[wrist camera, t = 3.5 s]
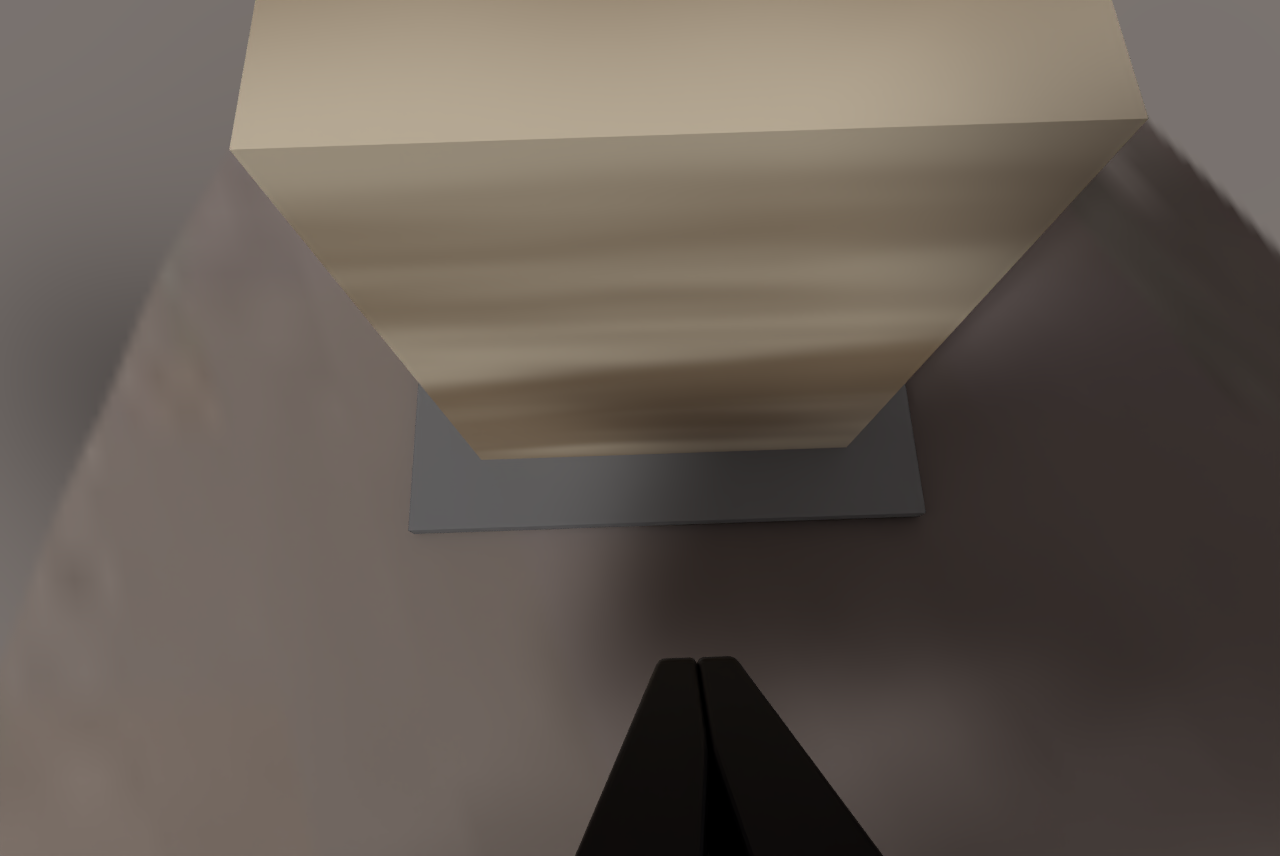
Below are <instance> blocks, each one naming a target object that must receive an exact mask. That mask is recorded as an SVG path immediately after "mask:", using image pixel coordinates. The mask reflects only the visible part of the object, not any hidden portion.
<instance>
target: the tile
mask: <svg viewBox="0 0 1280 856" xmlns="http://www.w3.org/2000/svg"><path fill="white" fill-rule="evenodd" d="M1147 120H1148V115H1147V112H1146V109H1145V106H1144V103H1143V100H1142V96H1141V93H1140V90H1139V86H1138V83H1137V80H1136V77H1135V74H1134V70H1133V67H1132V64H1131V61H1130V58H1129V54H1128V51H1127V48H1126V45H1125V42H1124V38H1123V35H1122V32H1121V29H1120V25H1119V22H1118V19H1117V16H1116V12H1115V9H1114V6H1113V3H1112V0H256V1H255V6H254V13H253V18H252V24H251V29H250V35H249V41H248V47H247V52H246V58H245V64H244V69H243V75H242V81H241V87H240V93H239V99H238V104H237V110H236V115H235V121H234V127H233V132H232V138H231V144H230V149H229V150H230V151H231V152H232V153H233V155H234V156H235V157H236V158H237V160H238V161H239V162H240V163H241V164H242V166H243V167H244V168H245V169H246V171H247V172H248V173H249V174H250V176H251V177H252V178H253V179H254V180H255V182H256V183H257V184H258V185H259V187H260V188H261V189H262V190H263V192H264V193H265V194H266V195H267V196H268V198H269V199H270V200H271V201H272V203H273V204H274V205H275V206H276V208H277V209H278V210H279V211H280V213H281V214H282V215H283V216H284V217H285V219H286V220H287V221H288V222H289V224H290V225H291V226H292V227H293V229H294V230H295V231H296V232H297V233H298V235H299V236H300V237H301V238H302V240H303V241H304V242H305V243H306V245H307V246H308V247H309V248H310V249H311V251H312V252H313V253H314V254H315V256H316V257H317V258H318V259H319V261H320V262H321V263H322V264H323V265H324V267H325V268H326V269H327V270H328V272H329V273H330V274H331V275H332V277H333V278H334V279H335V280H336V281H337V283H338V284H339V285H340V286H341V288H342V289H343V290H344V291H345V293H346V294H347V295H348V296H349V297H350V299H351V300H352V301H353V302H354V304H355V305H356V306H357V307H358V309H359V310H360V311H361V312H362V313H363V315H364V316H365V317H366V318H367V320H368V321H369V322H370V323H371V325H372V326H373V327H374V328H375V330H376V331H377V332H378V333H379V334H380V336H381V337H382V338H383V339H384V341H385V342H386V343H387V344H388V346H389V347H390V348H391V349H392V350H393V352H394V353H395V354H396V355H397V357H398V358H399V359H400V360H401V362H402V363H403V364H404V365H405V366H406V368H407V369H408V370H409V371H410V373H411V374H412V375H413V376H414V378H415V379H416V380H417V381H418V382H419V384H420V385H421V386H422V387H423V389H424V390H425V391H426V392H427V394H428V395H429V396H430V397H431V398H432V400H433V401H434V402H435V403H436V405H437V406H438V407H439V408H440V410H441V411H442V412H443V413H444V414H445V416H446V417H447V418H448V419H449V421H450V422H451V423H452V424H453V426H454V427H455V428H456V429H457V430H458V432H459V433H460V434H461V435H462V437H463V438H464V439H465V440H466V442H467V443H468V444H469V445H470V447H471V448H472V449H473V450H474V451H475V453H476V454H477V455H478V456H479V458H480V459H481V460H492V459H522V458H551V457H580V456H609V455H638V454H667V453H696V452H725V451H754V450H783V449H812V448H841V447H847V446H848V445H849V444H850V443H851V442H852V441H853V440H854V439H855V437H856V436H857V435H858V434H859V433H860V432H861V431H862V430H863V429H864V428H865V427H866V425H867V424H868V423H869V422H870V421H871V420H872V419H873V418H874V417H875V416H876V415H877V414H878V412H879V411H880V410H881V409H882V408H883V407H884V406H885V405H886V404H887V403H888V402H889V400H890V399H891V398H892V397H893V396H894V395H895V394H896V393H897V392H898V391H899V390H900V388H901V387H902V386H903V385H904V384H905V383H906V382H907V381H908V380H909V379H910V378H911V376H912V375H913V374H914V373H915V372H916V371H917V370H918V369H919V368H920V367H921V366H922V365H923V363H924V362H925V361H926V360H927V359H928V358H929V357H930V356H931V355H932V354H933V353H934V351H935V350H936V349H937V348H938V347H939V346H940V345H941V344H942V343H943V342H944V341H945V339H946V338H947V337H948V336H949V335H950V334H951V333H952V332H953V331H954V330H955V329H956V327H957V326H958V325H959V324H960V323H961V322H962V321H963V320H964V319H965V318H966V317H967V316H968V314H969V313H970V312H971V311H972V310H973V309H974V308H975V307H976V306H977V305H978V304H979V302H980V301H981V300H982V299H983V298H984V297H985V296H986V295H987V294H988V293H989V292H990V290H991V289H992V288H993V287H994V286H995V285H996V284H997V283H998V282H999V281H1000V280H1001V279H1002V277H1003V276H1004V275H1005V274H1006V273H1007V272H1008V271H1009V270H1010V269H1011V268H1012V267H1013V265H1014V264H1015V263H1016V262H1017V261H1018V260H1019V259H1020V258H1021V257H1022V256H1023V255H1024V253H1025V252H1026V251H1027V250H1028V249H1029V248H1030V247H1031V246H1032V245H1033V244H1034V243H1035V241H1036V240H1037V239H1038V238H1039V237H1040V236H1041V235H1042V234H1043V233H1044V232H1045V231H1046V230H1047V228H1048V227H1049V226H1050V225H1051V224H1052V223H1053V222H1054V221H1055V220H1056V219H1057V218H1058V216H1059V215H1060V214H1061V213H1062V212H1063V211H1064V210H1065V209H1066V208H1067V207H1068V206H1069V204H1070V203H1071V202H1072V201H1073V200H1074V199H1075V198H1076V197H1077V196H1078V195H1079V194H1080V192H1081V191H1082V190H1083V189H1084V188H1085V187H1086V186H1087V185H1088V184H1089V183H1090V182H1091V181H1092V179H1093V178H1094V177H1095V176H1096V175H1097V174H1098V173H1099V172H1100V171H1101V170H1102V169H1103V167H1104V166H1105V165H1106V164H1107V163H1108V162H1109V161H1110V160H1111V159H1112V158H1113V157H1114V155H1115V154H1116V153H1117V152H1118V151H1119V150H1120V149H1121V148H1122V147H1123V146H1124V145H1125V143H1126V142H1127V141H1128V140H1129V139H1130V138H1131V137H1132V136H1133V135H1134V134H1135V133H1136V132H1137V130H1138V129H1139V128H1140V127H1141V126H1142V125H1143V124H1144V123H1145V122H1146V121H1147Z"/></svg>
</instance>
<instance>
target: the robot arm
mask: <svg viewBox="0 0 1280 856" xmlns="http://www.w3.org/2000/svg"><path fill="white" fill-rule="evenodd" d="M575 856H883V855H882V854H881V852H880V851H879V850H878V848H877V847H876V846H875V844H874V843H873V842H872V840H871V839H870V837H869V836H868V835H867V833H866V832H865V831H864V829H863V828H862V827H861V825H860V824H859V823H858V821H857V820H856V819H855V817H854V816H853V815H852V813H851V812H850V811H849V809H848V808H847V807H846V805H845V804H844V803H843V801H842V800H841V799H840V797H839V796H838V795H837V793H836V792H835V790H834V789H833V788H832V786H831V785H830V784H829V782H828V781H827V780H826V778H825V777H824V776H823V774H822V773H821V772H820V770H819V769H818V768H817V766H816V765H815V764H814V762H813V761H812V760H811V758H810V757H809V756H808V754H807V753H806V752H805V750H804V749H803V748H802V746H801V745H800V743H799V742H798V741H797V739H796V738H795V737H794V735H793V734H792V733H791V731H790V730H789V729H788V727H787V726H786V725H785V723H784V722H783V721H782V719H781V718H780V717H779V715H778V714H777V713H776V711H775V710H774V709H773V707H772V706H771V705H770V703H769V702H768V701H767V699H766V698H765V696H764V695H763V694H762V692H761V691H760V690H759V688H758V687H757V686H756V684H755V683H754V682H753V680H752V679H751V678H750V676H749V675H748V674H747V672H746V671H745V670H744V668H743V667H742V666H741V664H740V663H739V662H738V661H737V660H736V659H735V658H733V657H731V656H723V657H702V658H700V659H699V660H698V662H697V663H696V661H695V660H694V659H693V658H666V659H661V660H660V661H659V662H658V663H657V665H656V667H655V669H654V671H653V674H652V676H651V678H650V681H649V683H648V686H647V688H646V690H645V693H644V695H643V697H642V700H641V702H640V704H639V707H638V709H637V711H636V714H635V716H634V718H633V721H632V723H631V726H630V728H629V730H628V733H627V735H626V737H625V740H624V742H623V744H622V747H621V749H620V751H619V754H618V756H617V758H616V761H615V763H614V765H613V768H612V770H611V773H610V775H609V777H608V780H607V782H606V784H605V787H604V789H603V791H602V794H601V796H600V798H599V801H598V803H597V805H596V808H595V810H594V813H593V815H592V817H591V820H590V822H589V824H588V827H587V829H586V831H585V834H584V836H583V838H582V841H581V843H580V845H579V848H578V850H577V852H576V855H575Z"/></svg>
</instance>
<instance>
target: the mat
mask: <svg viewBox="0 0 1280 856" xmlns="http://www.w3.org/2000/svg"><path fill="white" fill-rule="evenodd" d="M924 513H926V511H925V505H924V499H923V492H922V486H921V480H920V473H919V467H918V461H917V455H916V448H915V442H914V436H913V429H912V423H911V417H910V410H909V404H908V398H907V392H906V385H905V384H904V385H903V386H902V387H901V388H900V390H899V391H898V392H897V393H896V394H895V395H894V396H893V397H892V398H891V399H890V400H889V402H888V403H887V404H886V405H885V406H884V407H883V408H882V409H881V410H880V411H879V412H878V414H877V415H876V416H875V417H874V418H873V419H872V420H871V421H870V422H869V423H868V424H867V425H866V427H865V428H864V429H863V430H862V431H861V432H860V433H859V434H858V435H857V436H856V437H855V439H854V440H853V441H852V442H851V443H850V444H849V445H848V446H847V447H841V448H812V449H783V450H754V451H725V452H696V453H667V454H638V455H609V456H580V457H551V458H522V459H492V460H481V459H480V458H479V456H478V455H477V454H476V453H475V451H474V450H473V449H472V448H471V447H470V445H469V444H468V443H467V442H466V440H465V439H464V438H463V437H462V435H461V434H460V433H459V432H458V430H457V429H456V428H455V427H454V426H453V424H452V423H451V422H450V421H449V419H448V418H447V417H446V416H445V414H444V413H443V412H442V411H441V410H440V408H439V407H438V406H437V405H436V403H435V402H434V401H433V400H432V398H431V397H430V396H429V395H428V394H427V392H426V391H425V390H424V389H423V387H422V386H421V385H420V384H419V382H418V395H417V410H416V425H415V440H414V454H413V469H412V484H411V499H410V513H409V528H408V531H410V532H412V533H414V534H422V533H451V532H480V531H509V530H537V529H566V528H595V527H624V526H653V525H682V524H711V523H740V522H769V521H798V520H827V519H856V518H884V517H913V516H920V515H922V514H924Z"/></svg>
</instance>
